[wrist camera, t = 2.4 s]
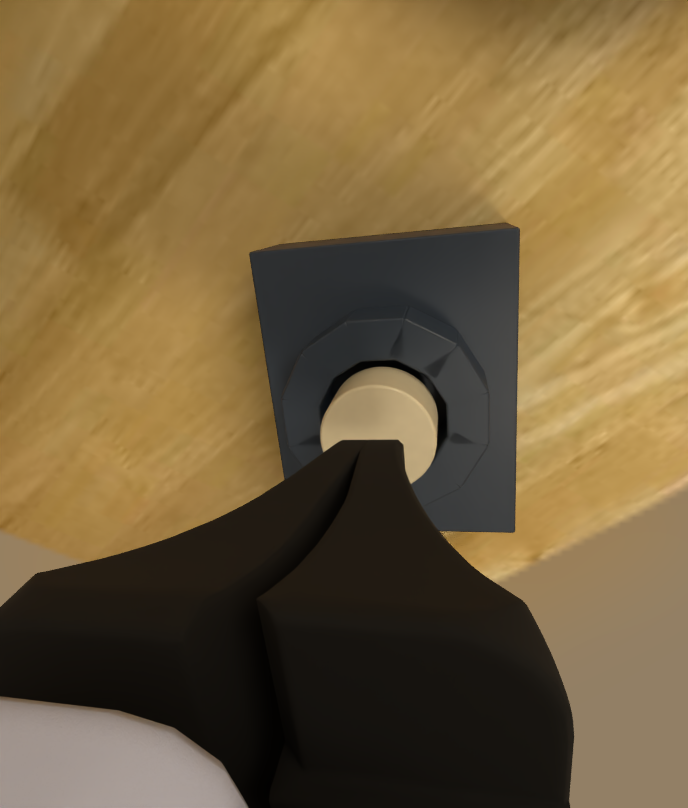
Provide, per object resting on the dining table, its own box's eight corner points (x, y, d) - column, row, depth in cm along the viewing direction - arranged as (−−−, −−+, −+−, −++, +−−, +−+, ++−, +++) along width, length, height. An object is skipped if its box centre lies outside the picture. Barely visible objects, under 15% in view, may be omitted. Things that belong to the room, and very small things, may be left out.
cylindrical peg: (439, 463, 16) (439, 493, 14) (337, 464, 17) (326, 492, 15) (436, 363, 15) (434, 383, 13) (326, 367, 16) (312, 387, 14)
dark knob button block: (505, 486, 21) (521, 567, 16) (312, 485, 23) (277, 559, 18) (508, 222, 17) (529, 230, 13) (278, 244, 19) (225, 258, 15)
